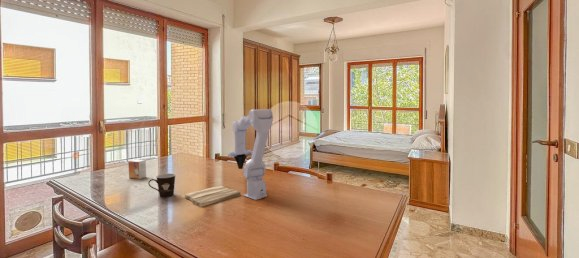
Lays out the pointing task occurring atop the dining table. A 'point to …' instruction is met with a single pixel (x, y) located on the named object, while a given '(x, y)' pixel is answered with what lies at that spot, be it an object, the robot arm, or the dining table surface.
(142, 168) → the small box
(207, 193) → the plank
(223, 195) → the laid boards
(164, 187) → the coffee mug
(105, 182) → the dining table surface
